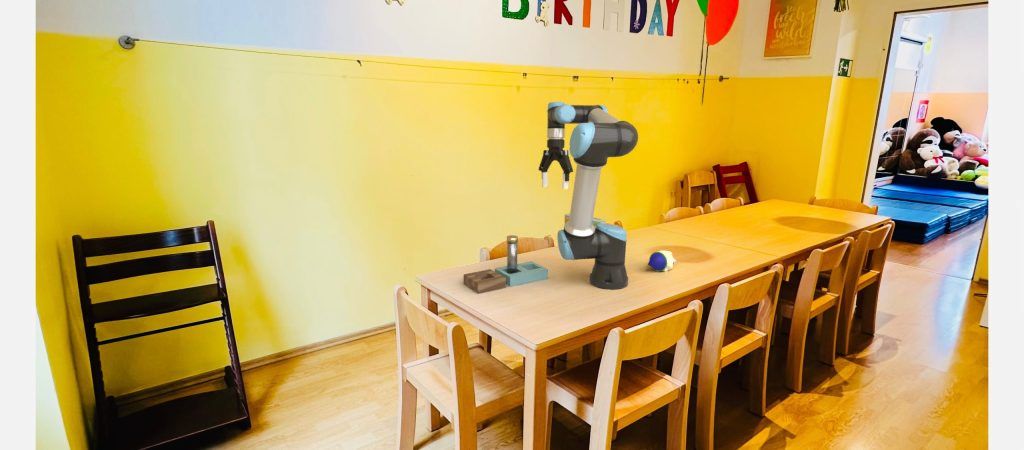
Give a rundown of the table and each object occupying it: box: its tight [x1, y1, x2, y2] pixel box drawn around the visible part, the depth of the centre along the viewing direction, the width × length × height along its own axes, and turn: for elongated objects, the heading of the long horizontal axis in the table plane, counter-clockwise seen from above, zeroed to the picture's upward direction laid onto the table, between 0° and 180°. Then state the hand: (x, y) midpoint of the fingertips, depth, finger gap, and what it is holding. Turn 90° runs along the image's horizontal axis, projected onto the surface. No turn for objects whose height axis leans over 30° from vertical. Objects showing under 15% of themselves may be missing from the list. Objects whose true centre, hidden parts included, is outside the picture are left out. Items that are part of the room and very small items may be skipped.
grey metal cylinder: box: [506, 234, 519, 274], centre depth 198 cm, size 4×4×18 cm
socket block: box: [463, 269, 507, 295], centre depth 193 cm, size 12×12×4 cm
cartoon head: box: [647, 249, 678, 273], centre depth 212 cm, size 9×10×20 cm
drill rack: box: [494, 261, 549, 288], centre depth 202 cm, size 12×18×4 cm, turn 122°
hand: (554, 188), depth 219 cm, fingers open, 13 cm apart
